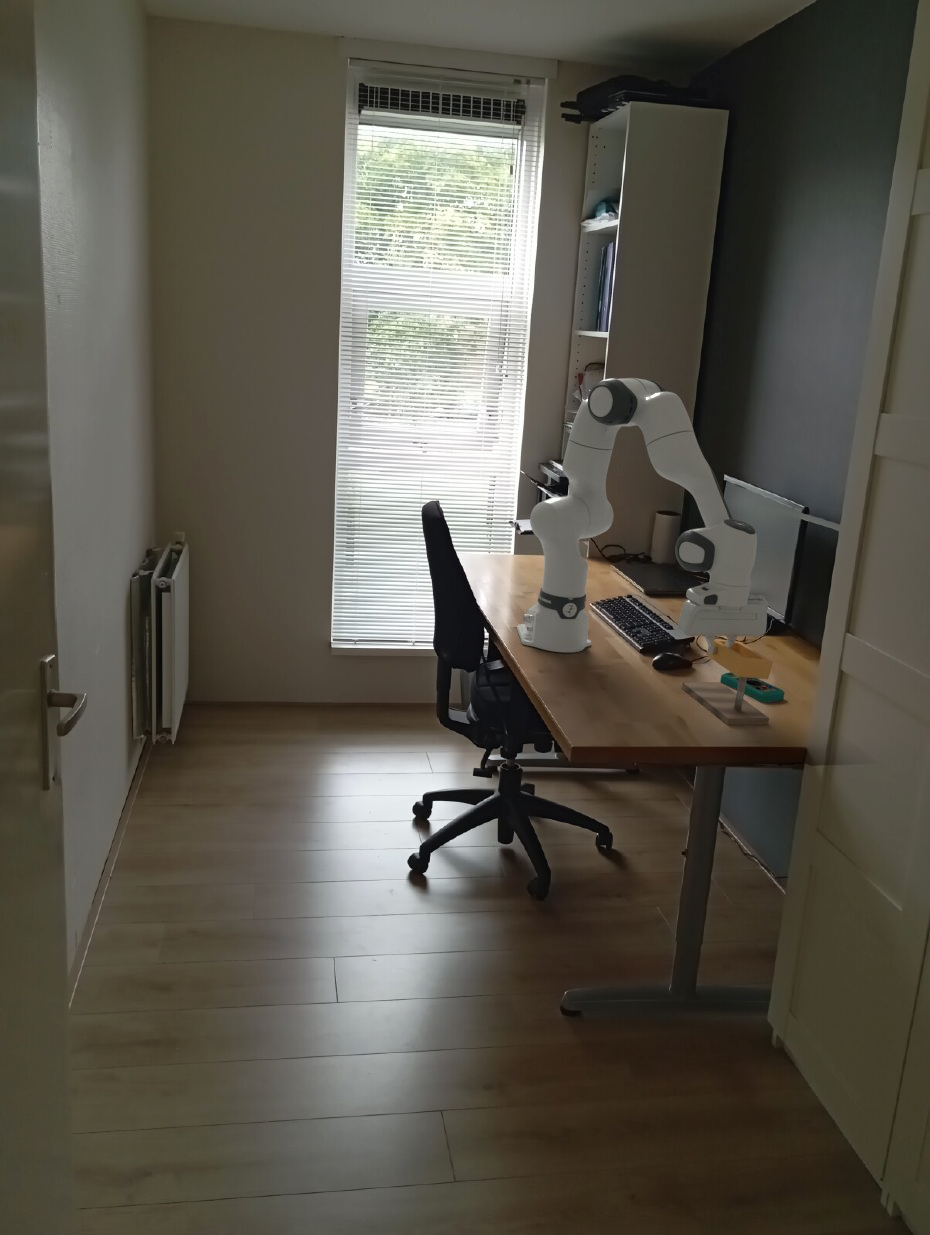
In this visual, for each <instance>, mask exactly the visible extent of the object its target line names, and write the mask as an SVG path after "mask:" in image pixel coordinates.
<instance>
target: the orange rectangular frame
mask: <svg viewBox="0 0 930 1235" xmlns="http://www.w3.org/2000/svg"><path fill="white" fill-rule="evenodd" d="M726 641H727V639H720V638H719V639H718V638H715V640H713V643H714V645H715V646H716V647H718V651H717V654H712V655H711V654H709V653H708V650H707V651H706V656H707V657H708V658H710V659H711V660H713V661H714V662H715V663H717V664H718V665H720V666H721V667H722V668H724V669H726V670H727V671H728V672H731V673H733V674H734V675H736V676H739V677H749V678H758V679H760V680H769V678H770V674H771V670H772V666H773V662H774V661H772V660H770V659H769V658H767V657H765V656H764V655H762V654H760V652H757V651H756V650H755V649H753V648H751V647H749V646H748V645H747V644H745V643H743V641H742V642H741V641H737V640H736V641H735V643H734V644H733V645H732V647H730V648H729V647H727V646H726V645H724V644H725V642H726Z"/></svg>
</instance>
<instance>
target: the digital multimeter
mask: <svg viewBox="0 0 930 1235" xmlns="http://www.w3.org/2000/svg"><path fill="white" fill-rule="evenodd" d="M719 682H721V683H722V684H724V685H725V686H726V687H730V688H732V689H733V690H736V691H737V688H738V682H739V676H736V675H734V674H733V673H731V672H730V671H728V672H725V673H723V674H721V675H720V681H719ZM785 694H786V693H785V691H784V689H782V688H779V687H777V686H774V685H773V684H771V683H768V682H767V681H764V680H763V679H759V678H749V677H747V680H746V686H745V691H744V695H746V696H748V697H751V698H752V699H754V700H757V701H759V702H760V703H774V702H779V701H782V700H784V697H785Z"/></svg>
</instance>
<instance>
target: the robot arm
mask: <svg viewBox="0 0 930 1235" xmlns="http://www.w3.org/2000/svg"><path fill="white" fill-rule="evenodd" d="M633 426H638V428H639V429H640V430H641V432H642V435H643V438H644V444H645V447H646V450H647V455H648V458H649V460H650V463H651V464H652V467H653V469H654V470H655V472H656V473H657V474H658V475H659V476H660V477H662V478H664V479H665V480H668V481H671V482H673V483H675V484H677V485H680V486H681V487H683V488H684V489H686V491H688V492H689V493H690V494H691V495H692V496H693V498H694V500H695V502H696V503H695V504H696V505H697V507H698V510H699V513H700V516H701V518H702V520H703V522H704V526H705V527H701V528H700V527H699V528H692V529H689V530H685V531H684V532H682V533H681V534H680V535H679V536H678V538H677V541H676V542H675V546H674V547H675V548H674V549H675V550H674V551H675V557H676V560H677V562H678V564H679V565H680V566H681V567H682V569H684V570H687V571H690V572H695V573H697V572H700V573H701V572H705V573H708V574H709V582H708V581H707V582H705V583H703V584H700V585H697V586H694V587H693V586H692V587H690V588H688V589H687V590H686V595H685V597H686V598H687V600H686V601H684V603H683V605H682V607H681V610H680V614H679V620H678V625H677V626H678V629H679V631H680V633H681V634H683V635H685V636H688V637H690V636H691V637H694V636H695V637H704V638H705V641H706V643H707V646H708V647H707V651H708V653H709V654H711V655H712V654H717V651H718V647H716V646H715V645H714V643H713V640H715V639H717V638H716V637H726V638H727V639H726V640H727V641H726V642H725V644H724V645H726V646H727V647H729V648H730V647H732V645H733V644H734V643H735V641H737V638H738V637H762V636H764V634H765V633H766V630H767V624H768V623H767V622H768V621H767V620H768V609H769V604H770V602H769V600H768V598H767V597H765V596H764V595H763V594H756V595H755V594H750V591H751V585H752V580H751V578H752V577H751V575H752V571H753V568H754V566H755V562H756V561H755V560H756V557H757V549H758V546H757V545H758V535H757V532H756V529H755V528H754V526H752V525H751V524H749V523H747V522H745V521H742V520H738V519H733V516H732V514H731V512H730V509H729V507H728V504H727V502H726V499H725V497H724V494H723V491H722V489H721V487H720V484H719V482H718V479H717V477H716V475H715V472H714V471H713V469H712V467H711V465H710V464H709V463H708V461H707V460H706V458H705V456H704V454H703V452H702V449H701V447H700V445H699V442H698V440H697V437H696V434H695V431H694V427H693V425H692V421H691V419H690V416H689V414H688V412H687V409H686V407H685V405H684V403H683V401H682V399H681V397H679V395H678V394H676V393H674V392H672V391H668V390H667V389H666V388H665V386H664V385H662V384H661V383H659V382H658V381H656V380H655V381H654V380H652V379H642V378H637V377H626V378H613V377H611V378H606V379H603V380H601V381H598V382H597V383H595V384H594V385H593V386H592V387H591V389H590V391H589V393H588V396H587V399H585V400H584V401H582V402H581V403H580V405H579V408H578V409H577V413H576V415H575V418H574V420H573V423H572V426H571V428H570V431H569V432H570V433H569V436H568V441H567V445H566V447H565V448H566V449H565V453H564V456H563V461H562V466H561V468H562V471H563V474H564V476H565V477H566V478H567V479H568V488H569V489H568V494H567V496H558V497H557V496H555V497H551V498H548V499H545V500H544V501H543V500H542V501H540V502H539V503H538V502H537V504H536V505H535V506H534V507H533V508H532V511H531V513H530V515H529V516H530V518H529V522H530V528H531V530H532V532H533V534H534V535H535V537H536V538H538V539H539V542H540V544H541V547H542V551H543V552H542V553H543V558H544V559H543V560H544V562H543V563H544V566H543V575H542V576H543V577H542V586H541V588H540V591H539V592H538V596H537V597H538V598H537V602H536V603H535V604H534V605H533V606H532V607H530V608H529V609H528V610H527V613H524V614H523V616H522V622H523V623H521V624H517V626H516V631H517V633H518V636H519V638H520V641H521V643H522V645H524V646H528V647H533V648H537V649H541V650H545V651H549V652H556V653H578V652H581V651H583V650H585V648H587V647H590V646H592V640H591V639H588V633H589V632H588V631H589V614H588V613H587V612H586V610H585V608H586V605H587V594H586V589H587V582H588V581H587V580H588V573H589V566H588V565H589V564H588V562H587V561H586V559H584V558H583V557H582V555H581V551H580V540H581V539H590V538H594V537H596V536H599V535H601V534H603V533H605V532H607V531H608V530H609V529H610V528H611V527H612V525H613V522H614V517H615V516H614V515H615V514H614V510H613V507H612V505H611V503H610V502H609V500H608V496H607V483H606V482H607V476H608V470H609V466H610V462H611V457H612V453H613V450H614V445H615V442H616V437H617V434H618V431H619V430H620V429H621V428H623V427H629V428H630V427H633Z"/></svg>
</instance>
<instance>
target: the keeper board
mask: <svg viewBox="0 0 930 1235" xmlns="http://www.w3.org/2000/svg"><path fill="white" fill-rule="evenodd" d="M746 680H747V677H739V682H738V688H737V690H736V692H735V691H733V690H732V689H731V688H729V686H727V685H725V684H723V683H721V682H720V681H719V682H715V681H714V682H713V681H712V682H710V681H709V682H705V681H703V682H700V681H699V682H690V681H689V682H685V681H684V682H681V684H682V685H681V689H682V691H684V692H686V693H687V694H688V695H689V696H690V697H692V698H693V699H694V700H696V701H697V702H698V703H699V704H700V705H702V706H703V707H704V708H706V709H707V710H708V711H709V712H710V711H711V712H710V713H711V714H713V713H714V714H715V715H717V716H718V717H717V716H716V717H717V718H718V719H719V718H720V719H721V720H720V719H719V720H720V721H721V722H723V721H724V722H725V723H726V725H727V726H740V725H741V726H742V725H748V726H749V725H769V721H770V717H768V716H767V715H766V714H765V713H763V712H762V711H760V710H759V709H758V708H756V707H755V706H754V705H753V704H751V703H749V701H747V700H746V699H744V698H745V697H744V695H745V694H744V691H745V686H746ZM714 714H713V715H714ZM715 715H714V716H715ZM724 722H723V723H724ZM725 723H724V724H725Z"/></svg>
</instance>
